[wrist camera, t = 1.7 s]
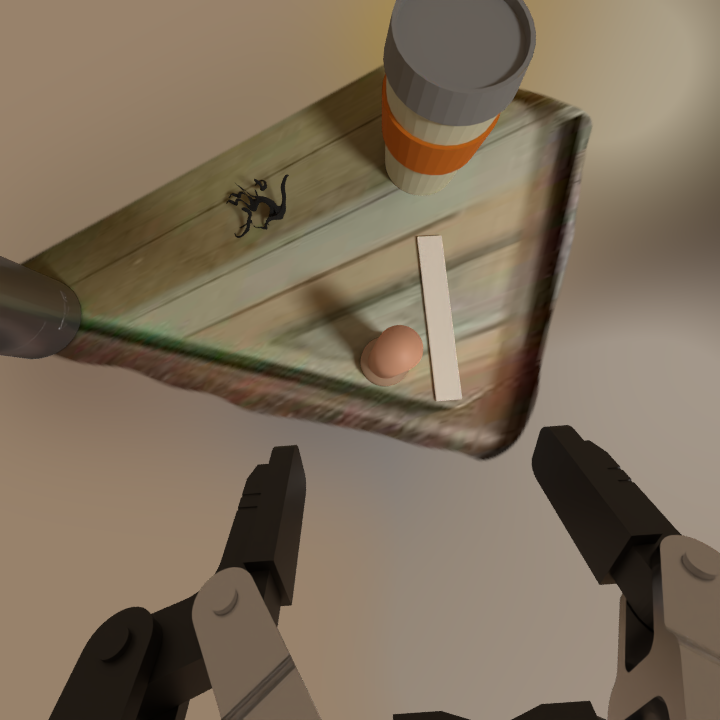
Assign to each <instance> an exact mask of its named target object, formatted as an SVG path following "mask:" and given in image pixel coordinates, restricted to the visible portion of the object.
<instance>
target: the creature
mask: <svg viewBox="0 0 720 720" xmlns="http://www.w3.org/2000/svg"><path fill="white" fill-rule="evenodd" d="M288 176H289V175H285V176H284V178H283V181H282V184H281V193H282V204H281V206H277V205H276V203H275V202H274V201H273V200H271V199H269V198H267V197H262V196H258V195H257V192H256V190H255V192H256V195H257V196H252V195H250V194H249V193H248V192H247V191H246V192H247V193H248V194H249V195H250V196H252V197H255V198H256V199H252V198H251V197H250V196H248V198H249V200H250V205H248V204H247V203H245V202H244V201H243V202H244V203H245V204H246V205H247V207H248V208H249V209H250V210H251V211H256V210H257V207H258V205H259V203H260V202H264V203H266V204H267V205H268V206H269V207H270V214H269V217H268V218H267V220H266V223H265V227H257V228H262V229H267V224H268V222H270V221H271V220H279V219H283V216H284V214H285V211H286V204H285V203H286V193H285V182H286V178H287V177H288ZM254 181H255V182H256V184H258V185H259V186H260V190H261V191H264V190H265V189H266V188H267V184H266V181H264V180H261V181H264V186H262V184H261V183H260V181H258V180H256V179H254ZM235 184H236V183H235ZM256 184H255V186H256ZM238 186H239V185H238ZM239 187H240V186H239ZM240 188H241V187H240ZM241 189H242V190H244V189H243V188H241ZM241 194H245V195H247V194H246V193H245V192H244V193H243V192H239V193H238V194H234V193H232V194H231V195H233V196H235V197H237V199H236V200H235V202H234V201H232V200H228V201H227V203H228V202H230V203H232V204H233V205H236V206H237V205H238V201H242V200H241V199H238V198H241ZM231 195H230V196H229V198H230V197H231ZM227 203H226V204H227ZM249 209H247V208H244V207H243V208H242V210H243V211H245V212H247V213H248V215H249V217H248V220H247V224H245V225H247V228H246V230H245V231H244V233H243V234H242V235H241V236H236V235H235V236H236V237H237V238H240V237H242V236H244V235H245V234H246V233H247V232H248V231H249V228H250V223H252V220H251V216H252V213H251V211H250V210H249ZM245 225H244V226H245ZM268 225H269V224H268ZM244 226H242V227H244ZM242 227H240V228H242ZM254 227H255V226H254Z"/></svg>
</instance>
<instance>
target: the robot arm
mask: <svg viewBox="0 0 720 720" xmlns="http://www.w3.org/2000/svg"><path fill="white" fill-rule="evenodd" d="M80 321H81V307H80V304H79V301H78V298H77V297H76V295H75V294H74V292H73V291H72V290H71V289H70V288H69V287H68V286H66V285H65V284H63V283H61V282H59V281H57V280H55V279H52V278H50V277H48V276H45V275H43V274H41V273H38V272H36V271H34V270H31V269H29V268H27V267H25V266H22V265H20V264H18V263H15V262H13V261H11V260H8V259H6V258H4V257H1V256H0V355H4V356H12V357H19V358H27V359H39V358H44V357H48V356H51V355H53V354H55V353H57V352H59V351H60V350H61V349H63V348H64V347H66V346H67V345H68V344H69V342H70V341H71V340H72V339H73V338H74V336H75V334H76V333H77V331H78V328H79V325H80ZM532 469H533V472H534V475H535V477H536V479H537V481H538V482H539V484H540V486H541V488H542V489H543V491H544V493H545V494H546V496H547V498H548V499H549V501H550V502H551V504H552V506H553V508H554V509H555V511H556V513H557V514H558V516H559V518H560V519H561V521H562V523H563V524H564V526H565V528H566V529H567V531H568V533H569V534H570V536H571V538H572V539H573V541H574V543H575V544H576V546H577V548H578V549H579V551H580V553H581V555H582V556H583V558H584V560H585V561H586V563H587V565H588V566H589V568H590V569H591V571H592V573H593V575H594V576H595V578H596V580H597V581H598V583H599V584H600V585H602V584H603V585H604V584H617V585H618V586H619V588H620V590H621V591H622V595H621V597H620V609H619V636H618V637H619V639H618V665H617V676H616V681H615V684H614V687H613V689H612V692H611V696H610V701H609V707H608V720H720V553H719V552H717V551H716V550H714V549H713V548H711V547H710V546H708V545H706V544H704V543H703V542H700V541H698V540H696V539H693V538H690V537H686V536H682V535H681V534H680V533H679V532H678V531H677V530H676V529H675V528H674V526H673V525H672V524H671V523H670V522H669V521H668V520H667V519H666V518H665V516H664V515H663V514H662V513H661V512H660V511H659V510H658V509H657V507H656V506H655V505H654V504H653V503H652V502H651V501H650V500H649V499H648V497H647V496H646V495H645V494H644V493H643V492H642V491H641V490H640V488H639V487H638V486H637V485H636V484H635V483H634V482H633V483H632V481H631V478H630V477H628V475H627V474H626V473H625V472H624V471H623V470H621V469H620V466H619V465H618V464H617V463H616V462H615V461H614V459H613V458H611V456H610V455H609V454H608V453H607V452H606V451H604V450H603V449H601V448H600V447H598V446H597V445H595V444H594V443H593V442H591V441H589V440H588V441H584V440H583V439H582V438H581V437H580V435H579V434H578V433H577V432H576V431H575V430H574V429H573V428H572V427H571V426H569V425H564V426H550V427H543V428H542V429H541V431H540V434H539V437H538V440H537V444H536V447H535V450H534V454H533V457H532ZM305 495H306V478H305V473H304V469H303V465H302V460H301V456H300V453H299V449H298V446H297V445H291V446H278V447H274V448H273V450H272V453H271V457H270V461H269V464H261V465H257V467H256V468H255V469H254V471H253V472H252V473H251V475H250V476H249V477H248V478H247V481H246V484H245V487H244V490H243V494H242V498H241V500H240V503H239V506H238V511H237V513H236V516H235V519H234V522H233V525H232V528H231V531H230V534H229V538H228V541H227V544H226V547H225V550H224V554H223V557H222V560H221V563H220V565H219V567H218V569H217V571H216V573H215V574H214V575H213V576H212V577H211V578H210V579H209V580H208V581H207V582H206V583H205V584H204V585H203V587H202V588H201V589H200V591H199V592H197V593H196V594H194V595H193V596H191V597H189V598H187V599H185V600H183V601H180V602H179V603H176V604H173V605H171V606H169V607H166V608H164V609H162V610H160V611H157V612H155V613H152V614H150V613H149V612H148V611H147V610H146V609H144V608H142V607H131V608H127V609H124V610H122V611H120V612H118V613H116V614H115V615H113V616H112V617H110V618H109V619H108V620H107V621H106V622H104V623H103V624H102V625H101V626H100V627H99V628H98V629H97V630H96V632H95V633H94V634H93V635H92V636H91V638H90V639H89V641H88V642H87V644H86V646H85V648H84V649H83V651H82V653H81V655H80V658H79V659H78V661H77V663H76V665H75V667H74V669H73V671H72V673H71V675H70V677H69V679H68V681H67V683H66V686H65V687H64V689H63V691H62V694H61V696H60V697H59V699H58V701H57V704H56V706H55V708H54V710H53V712H52V714H51V716H50V718H49V720H185V716H186V712H187V709H188V705H189V701H190V699H192V698H194V697H196V696H198V695H200V694H201V693H204V692H205V691H207V690H209V689H211V688H213V692H214V695H215V698H216V702H217V705H218V708H219V712H220V716H221V720H322V719H321V717H320V715H319V713H318V711H317V709H316V707H315V705H314V703H313V701H312V699H311V696H310V694H309V693H308V690H307V688H306V686H305V684H304V682H303V680H302V678H301V676H300V674H299V672H298V670H297V668H296V666H295V664H294V661H293V659H292V657H291V655H290V653H289V651H288V649H287V647H286V645H285V643H284V641H283V639H282V637H281V635H280V633H279V631H278V629H277V625H278V619H279V611H280V606H289V605H292V598H293V591H294V583H295V575H296V567H297V558H298V550H299V543H300V534H301V527H302V519H303V511H304V503H305ZM393 720H469V719H466V718H462V717H459V716H456V715H452V714H449V713H446V712H443V711H435V712H421V713H407V714H393ZM512 720H606V719H603V718H601V717H599V716H597V715H596V713H595V711H594V709H593V707H592V704H591V702H590V701H581V702H566V703H553V704H541V705H539V706H537V707H535V708H533V709H531V710H530V711H528V712H526V713H524V714H522V715H520V716H518V717H516V718H514V719H512Z"/></svg>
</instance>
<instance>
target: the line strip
mask: <svg viewBox="0 0 720 720" xmlns="http://www.w3.org/2000/svg"><path fill="white" fill-rule="evenodd" d="M417 243H418V252H419V261H420V269H421V278H422V286H423V295H424V304H425V312H426V321H427V330H428V338H429V347H430V356H431V364H432V373H433V381H434V390H435V399H436V401H445V400H456V399H462V395H461V387H460V379H459V371H458V363H457V355H456V347H455V339H454V331H453V323H452V315H451V307H450V299H449V291H448V283H447V275H446V267H445V260H444V252H443V244H442V236H441V235H440V236H422V237H417Z"/></svg>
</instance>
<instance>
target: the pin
mask: <svg viewBox="0 0 720 720" xmlns="http://www.w3.org/2000/svg"><path fill="white" fill-rule="evenodd" d="M422 354H423V343H422V340H421V338H420V336H419V335H418V334H417V333H416V332H415V331H414V330H413V329H411V328H410V327H407V326H403V325H396V326H392V327H389V328H388V329H386V330H385V331H384V332H383V333H382V334H381V335H380V337H378V338H376V339H374V340H372V341H371V342H369V343H368V344H367V345H366V347H365V348H364V350H363V352H362V355H361V360H360V364H361V369H362V372H363V374H364V375H365V377H366V378H367V379H368V380H369V381H370V382H372V383H373V384H376V385H379V386H391V385H394V384H397V383H398V382H400V381H401V380H403V379H404V378H405V376H406V375H407V373H408V371H409V370H410V369H412V368H413V367H415V366H416V365H417V364H418V363H419V361H420V359H421V357H422Z"/></svg>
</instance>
